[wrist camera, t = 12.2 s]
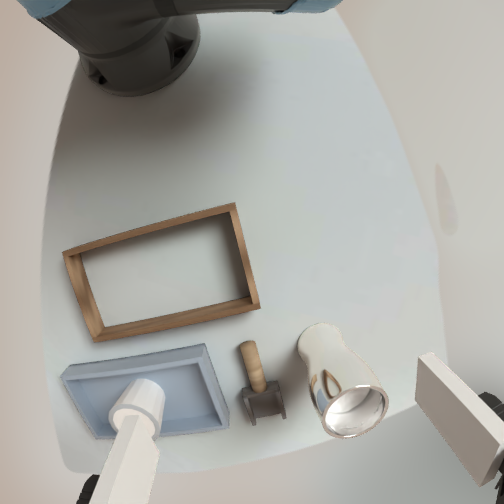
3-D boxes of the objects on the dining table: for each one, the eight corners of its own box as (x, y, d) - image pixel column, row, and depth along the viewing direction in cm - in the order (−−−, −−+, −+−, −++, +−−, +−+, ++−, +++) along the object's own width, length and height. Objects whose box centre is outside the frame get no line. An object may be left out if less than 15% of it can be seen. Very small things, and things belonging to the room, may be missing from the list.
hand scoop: (228, 345, 39) (228, 352, 37) (265, 336, 39) (267, 343, 37) (252, 416, 42) (252, 425, 40) (284, 410, 42) (286, 418, 40)
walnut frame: (73, 247, 36) (62, 252, 33) (234, 202, 36) (234, 203, 33) (102, 332, 38) (94, 342, 36) (259, 299, 38) (260, 308, 35)
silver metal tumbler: (285, 357, 40) (306, 434, 25) (308, 311, 39) (344, 375, 24) (330, 371, 41) (365, 443, 26) (354, 328, 40) (404, 390, 25)
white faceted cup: (115, 378, 39) (98, 407, 32) (157, 370, 39) (145, 400, 32) (136, 415, 41) (123, 445, 34) (177, 409, 40) (169, 441, 34)
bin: (70, 364, 39) (59, 376, 36) (204, 343, 39) (202, 356, 36) (102, 425, 42) (96, 439, 38) (229, 412, 42) (229, 428, 38)
